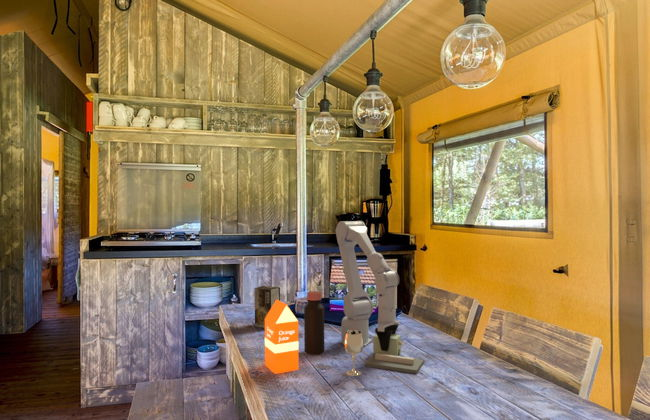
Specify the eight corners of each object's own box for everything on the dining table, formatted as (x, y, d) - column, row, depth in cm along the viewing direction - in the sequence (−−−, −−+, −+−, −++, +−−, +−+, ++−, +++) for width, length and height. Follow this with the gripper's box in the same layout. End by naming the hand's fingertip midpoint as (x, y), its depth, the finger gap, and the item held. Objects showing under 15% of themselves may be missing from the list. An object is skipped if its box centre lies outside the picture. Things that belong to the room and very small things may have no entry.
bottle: (327, 350, 151) (327, 291, 151) (319, 356, 144) (318, 295, 144) (310, 347, 153) (309, 290, 153) (300, 353, 147) (300, 293, 147)
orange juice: (274, 374, 129) (274, 305, 129) (264, 364, 137) (264, 300, 137) (299, 369, 133) (298, 303, 133) (287, 360, 140) (287, 297, 140)
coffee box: (281, 326, 182) (281, 287, 182) (271, 329, 177) (271, 289, 177) (264, 323, 187) (264, 285, 187) (253, 326, 182) (253, 287, 182)
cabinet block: (373, 354, 146) (373, 336, 146) (377, 349, 151) (377, 332, 151) (399, 358, 142) (399, 339, 142) (403, 353, 147) (403, 335, 147)
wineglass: (365, 371, 131) (365, 330, 131) (360, 378, 126) (360, 335, 126) (346, 368, 133) (346, 329, 133) (341, 375, 127) (341, 334, 127)
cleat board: (364, 365, 135) (364, 357, 135) (374, 356, 144) (374, 348, 144) (416, 373, 129) (416, 365, 129) (423, 362, 138) (423, 354, 138)
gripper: (392, 312, 139) (392, 356, 139) (404, 303, 152) (404, 343, 152) (371, 310, 141) (371, 353, 141) (384, 302, 155) (384, 340, 155)
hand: (387, 347), depth 147 cm, fingers closed on cabinet block, 5 cm apart
